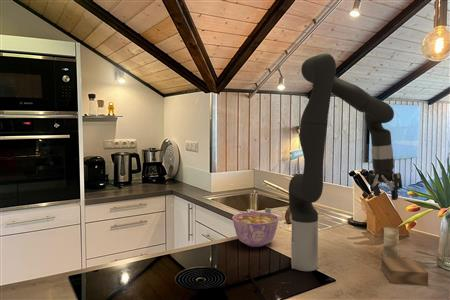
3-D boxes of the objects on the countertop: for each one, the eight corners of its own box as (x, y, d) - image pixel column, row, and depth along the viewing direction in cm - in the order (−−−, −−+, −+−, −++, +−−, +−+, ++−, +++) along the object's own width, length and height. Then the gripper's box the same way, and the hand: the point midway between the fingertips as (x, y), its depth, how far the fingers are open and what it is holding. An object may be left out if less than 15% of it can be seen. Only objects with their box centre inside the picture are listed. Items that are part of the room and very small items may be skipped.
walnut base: (390, 282, 112) (391, 270, 111) (381, 268, 122) (381, 257, 122) (428, 285, 110) (428, 272, 109) (415, 270, 120) (415, 259, 120)
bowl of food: (260, 255, 136) (260, 226, 135) (222, 244, 150) (222, 218, 149) (287, 242, 151) (287, 216, 150) (251, 233, 164) (251, 209, 164)
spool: (385, 262, 128) (386, 230, 127) (381, 257, 133) (382, 226, 132) (400, 263, 127) (400, 231, 126) (395, 258, 132) (396, 227, 131)
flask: (266, 225, 177) (266, 206, 176) (278, 228, 172) (278, 208, 171) (257, 228, 172) (257, 209, 171) (269, 231, 167) (269, 211, 166)
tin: (298, 218, 191) (298, 203, 191) (303, 219, 189) (303, 203, 189) (284, 224, 180) (284, 208, 179) (289, 225, 178) (289, 209, 177)
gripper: (361, 157, 139) (364, 196, 141) (389, 159, 126) (393, 203, 127) (376, 154, 142) (379, 193, 143) (405, 156, 128) (408, 199, 130)
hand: (385, 197), depth 135 cm, fingers open, 8 cm apart
